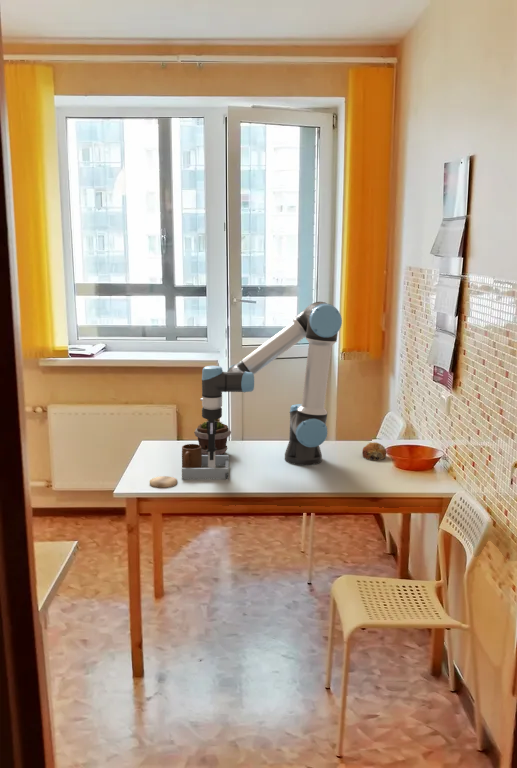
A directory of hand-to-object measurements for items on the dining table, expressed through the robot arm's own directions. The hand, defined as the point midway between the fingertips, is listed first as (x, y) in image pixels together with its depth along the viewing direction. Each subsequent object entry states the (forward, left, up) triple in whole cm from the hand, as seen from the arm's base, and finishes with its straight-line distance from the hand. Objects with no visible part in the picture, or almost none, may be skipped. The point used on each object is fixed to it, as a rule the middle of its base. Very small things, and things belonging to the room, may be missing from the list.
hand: (211, 467), depth 253 cm
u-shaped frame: (+2, 0, -2) cm, 3 cm away
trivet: (+17, +12, -2) cm, 21 cm away
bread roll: (-67, -19, -2) cm, 69 cm away
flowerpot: (0, -23, -2) cm, 23 cm away
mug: (+8, 0, -2) cm, 8 cm away
